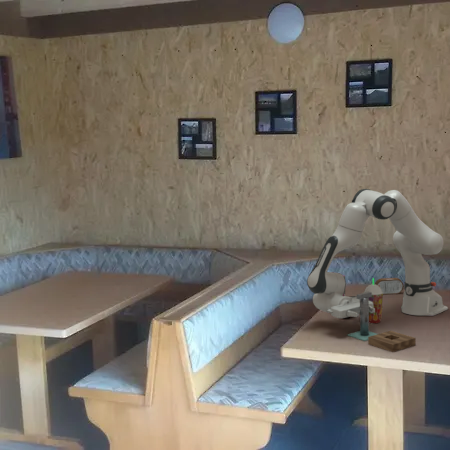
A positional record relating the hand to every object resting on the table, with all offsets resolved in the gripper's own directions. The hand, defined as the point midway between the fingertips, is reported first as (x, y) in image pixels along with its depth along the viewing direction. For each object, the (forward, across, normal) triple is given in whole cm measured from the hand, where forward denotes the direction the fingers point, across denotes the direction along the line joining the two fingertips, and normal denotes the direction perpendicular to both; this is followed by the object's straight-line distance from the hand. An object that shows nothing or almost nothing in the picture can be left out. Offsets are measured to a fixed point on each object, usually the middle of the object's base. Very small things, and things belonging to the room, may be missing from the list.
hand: (365, 312), depth 276 cm
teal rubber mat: (-1, 0, +10) cm, 10 cm away
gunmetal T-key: (-1, 0, +10) cm, 10 cm away
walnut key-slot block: (+14, 0, +10) cm, 17 cm away
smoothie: (-13, +18, +10) cm, 24 cm away
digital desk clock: (-43, +61, +11) cm, 75 cm away
